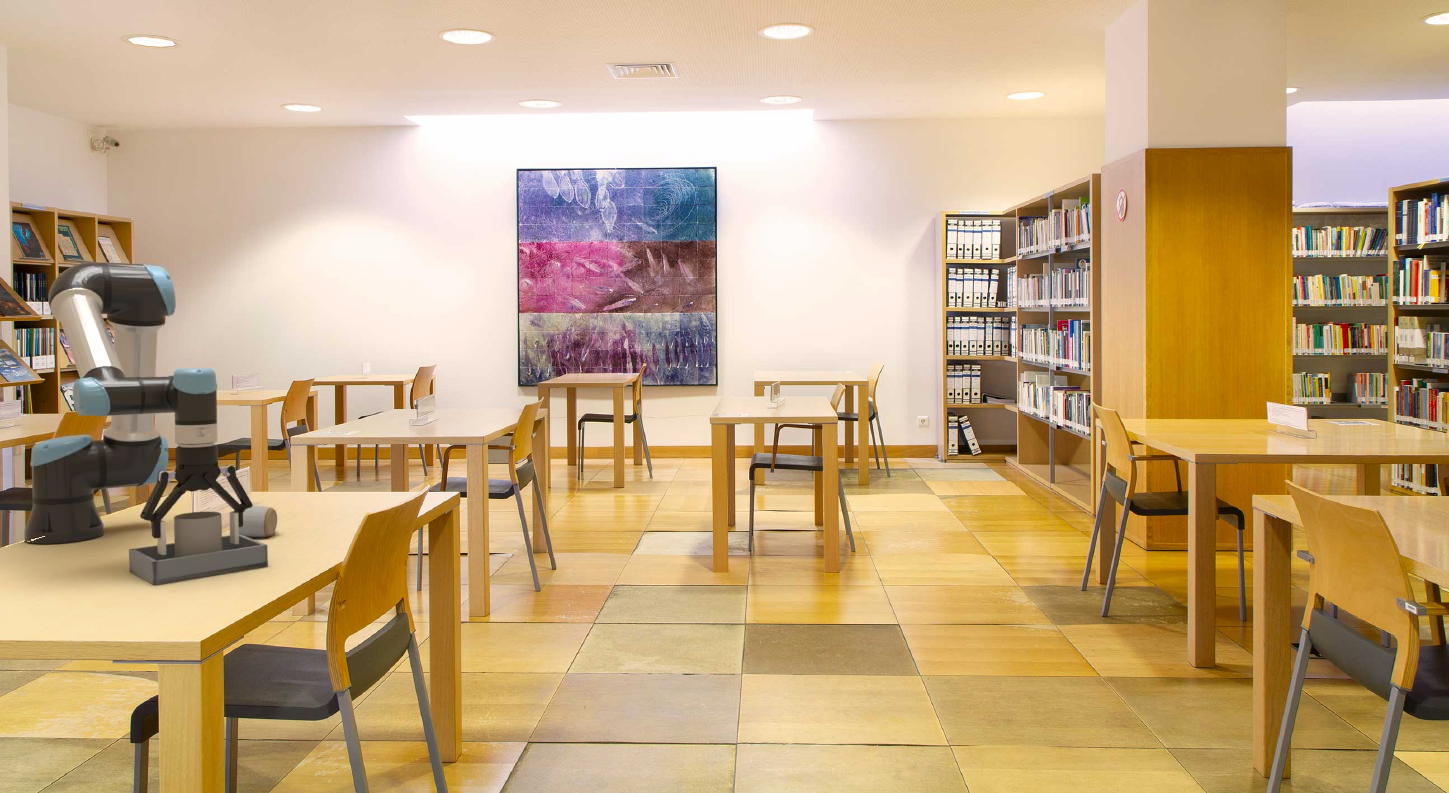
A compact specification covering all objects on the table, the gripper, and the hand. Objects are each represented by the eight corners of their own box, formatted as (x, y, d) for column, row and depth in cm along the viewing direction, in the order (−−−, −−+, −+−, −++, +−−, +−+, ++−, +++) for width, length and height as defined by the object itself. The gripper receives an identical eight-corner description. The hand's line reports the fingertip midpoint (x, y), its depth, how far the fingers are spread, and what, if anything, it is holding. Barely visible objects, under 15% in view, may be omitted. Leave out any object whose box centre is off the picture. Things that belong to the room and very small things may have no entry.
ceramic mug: (267, 540, 220) (266, 507, 220) (230, 540, 219) (230, 507, 219) (284, 531, 231) (283, 500, 230) (249, 531, 230) (248, 500, 229)
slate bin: (129, 571, 190) (129, 549, 190) (239, 554, 206) (239, 533, 205) (154, 585, 180) (153, 562, 180) (267, 566, 195) (267, 544, 195)
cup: (174, 570, 187) (172, 520, 187) (176, 561, 195) (174, 513, 194) (222, 566, 191) (221, 517, 191) (222, 557, 199) (221, 510, 198)
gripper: (132, 451, 179) (135, 561, 181) (267, 441, 198) (269, 541, 199) (120, 447, 185) (123, 555, 186) (253, 438, 203) (255, 536, 204)
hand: (199, 548), depth 193 cm, fingers open, 13 cm apart
